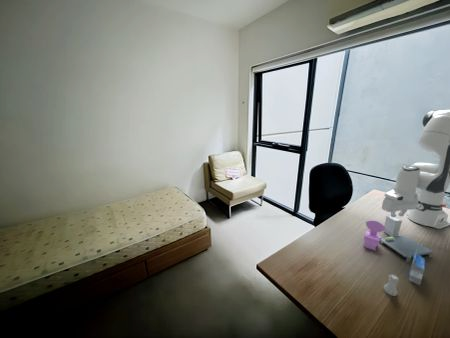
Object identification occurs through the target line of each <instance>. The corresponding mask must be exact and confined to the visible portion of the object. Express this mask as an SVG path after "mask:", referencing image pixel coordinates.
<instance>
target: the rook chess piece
mask: <svg viewBox="0 0 450 338" xmlns="http://www.w3.org/2000/svg"><path fill="white" fill-rule="evenodd" d="M398 282H400V279H399V277H398V276H397V275H395V274H392V273H391V274H390V275H388V281H387V283H385V284H384V285H383V291H384V292H385V293H387V295H389V296H394V297H396V296H398V290H397V289H398V288H397V285H398Z"/></svg>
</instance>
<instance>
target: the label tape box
mask: <svg viewBox="0 0 450 338" xmlns="http://www.w3.org/2000/svg"><path fill="white" fill-rule="evenodd" d="M416 252H417V250H416V251H415V254H414V258H413V260H411V264H410V265H411V266H410V269H409V274H408V275H409V276H408V281H410V282H411V283H414V284H416V285H418V286H421V283H422V280H423V277H424V272H425V269H426V268H425V266H426V258H422V257H421V256H419V255H418V254H416Z"/></svg>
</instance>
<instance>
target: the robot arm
mask: <svg viewBox="0 0 450 338" xmlns="http://www.w3.org/2000/svg"><path fill="white" fill-rule="evenodd" d="M422 126H423V127H424V128H423V129H422V131H421V133H420V136H419V138H418V144H419V146H420V147H421V148H422V149H423V150H425V151H427V152H429V153H431V154H432V156H433V157H435V158H436V159H438V160H439V164H438V163H431V162H415V163H413V164H411V165H404V166H401V167H400V168H399V171H398V173H397V175H396V179H395V185H394V187H393V189H391V190H389V191H387V192H385V193H384V198H383V200H382V203H381V209H382V210H383V211H385V212H387V213H390V216H391V217H396V216H397V215H398V216H399V217H404V216H405V215H407V218H408V219H409V220H410V221H412V222H413V223H414V222H415V223H417V224H420V225H421V226H427V227H432V228H435V229H443V228H445V227H448V226H450V220H448V217H449V214H448V213H447V212H446V211H444V210H443V208H446V207H447V203H443V201H444V198H445V192H446V191H447V190H448V188H449V186H450V109H443V110H432V111H428V112H427V113H426V114H425V115H424V117H423V118H422ZM416 189H418V193H417V192H416V191H417V190H416ZM408 210H409V211H408ZM396 212H398V214H396ZM396 218H397V217H396Z"/></svg>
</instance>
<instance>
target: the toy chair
mask: <svg viewBox="0 0 450 338" xmlns="http://www.w3.org/2000/svg"><path fill="white" fill-rule="evenodd" d="M365 226H366V227H367V229H368V230H369V231H368V230H366V231H365V235H364V238H363V240H364V245H363V247H365V248H366V249H369V250H373V251H375V252H376V251H377V250H376V247H377V246H378V245H379V244H380V242H379V241H380V237H381V235H380V234H378V233H381V232H382V233H383V232H384V231H383V230H385V227H384V224H382V223H381V222H379V221H378V220H368V221H366V222H365Z"/></svg>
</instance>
